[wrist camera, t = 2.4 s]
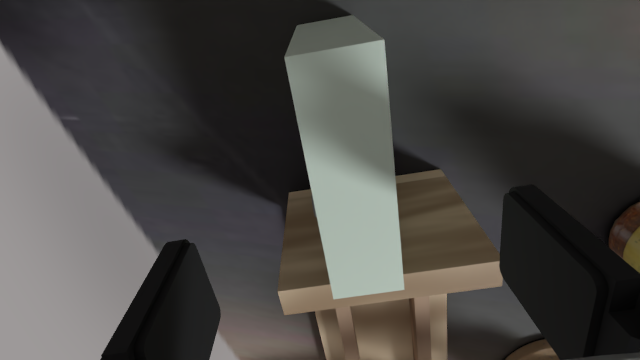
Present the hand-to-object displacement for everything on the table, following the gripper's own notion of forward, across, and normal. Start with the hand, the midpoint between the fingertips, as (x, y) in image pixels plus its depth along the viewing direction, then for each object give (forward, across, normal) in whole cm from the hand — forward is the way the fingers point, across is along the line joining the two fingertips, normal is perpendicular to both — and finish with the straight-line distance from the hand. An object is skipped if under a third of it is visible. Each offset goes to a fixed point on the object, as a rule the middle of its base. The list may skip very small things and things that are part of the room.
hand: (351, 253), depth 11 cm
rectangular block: (+13, -1, -1) cm, 13 cm away
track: (+13, -2, +15) cm, 20 cm away
